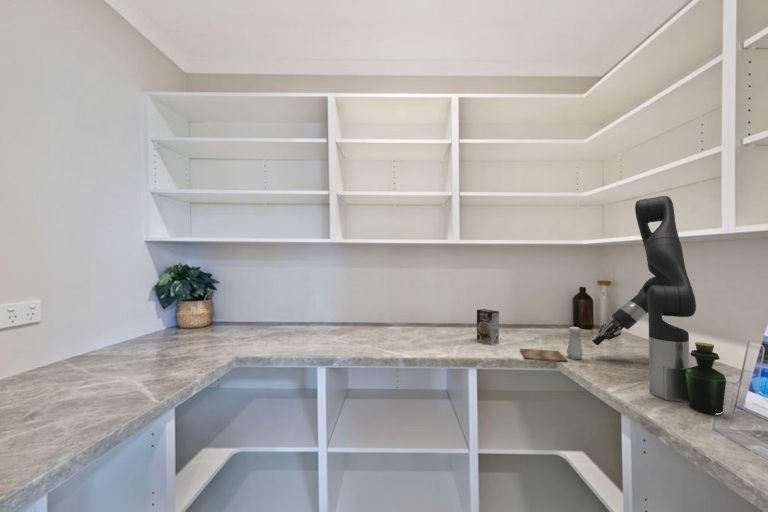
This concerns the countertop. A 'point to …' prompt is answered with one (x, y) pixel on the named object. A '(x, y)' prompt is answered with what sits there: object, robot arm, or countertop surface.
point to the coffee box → (488, 326)
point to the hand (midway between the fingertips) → (594, 343)
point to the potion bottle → (705, 381)
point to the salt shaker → (574, 344)
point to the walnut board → (543, 355)
